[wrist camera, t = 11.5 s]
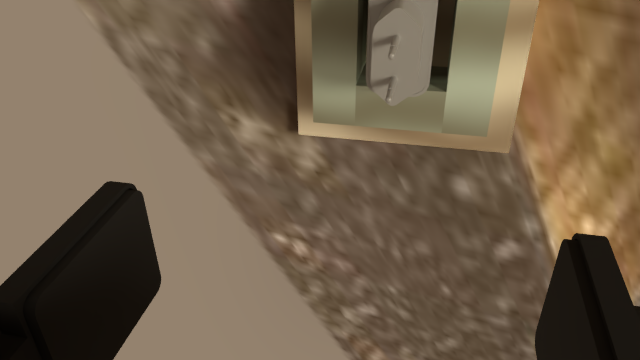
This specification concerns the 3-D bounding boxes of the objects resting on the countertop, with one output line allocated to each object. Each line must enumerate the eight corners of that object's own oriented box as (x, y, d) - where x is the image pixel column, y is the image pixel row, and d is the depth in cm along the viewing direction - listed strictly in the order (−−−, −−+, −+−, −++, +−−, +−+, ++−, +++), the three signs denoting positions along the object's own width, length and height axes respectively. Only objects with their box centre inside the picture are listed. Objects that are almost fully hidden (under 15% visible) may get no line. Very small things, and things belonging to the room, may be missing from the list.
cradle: (292, -176, 29) (264, -180, 25) (571, -182, 26) (594, -187, 22) (301, 128, 38) (283, 162, 34) (507, 145, 36) (514, 185, 32)
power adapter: (443, -45, 30) (436, 12, 20) (432, 51, 32) (423, 143, 22) (386, -47, 30) (352, 7, 20) (381, 48, 33) (349, 136, 23)
